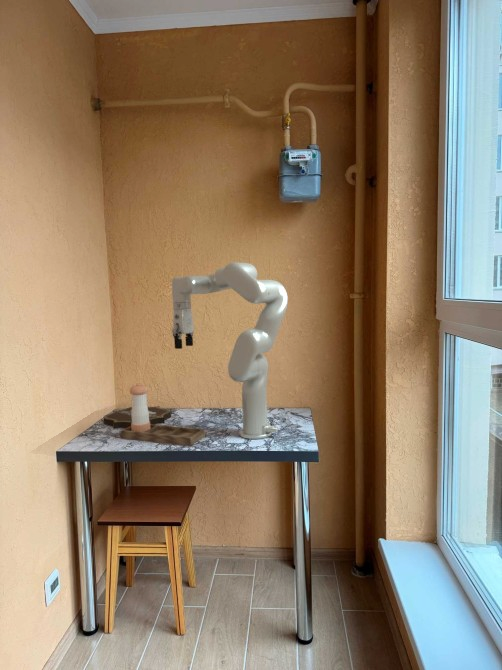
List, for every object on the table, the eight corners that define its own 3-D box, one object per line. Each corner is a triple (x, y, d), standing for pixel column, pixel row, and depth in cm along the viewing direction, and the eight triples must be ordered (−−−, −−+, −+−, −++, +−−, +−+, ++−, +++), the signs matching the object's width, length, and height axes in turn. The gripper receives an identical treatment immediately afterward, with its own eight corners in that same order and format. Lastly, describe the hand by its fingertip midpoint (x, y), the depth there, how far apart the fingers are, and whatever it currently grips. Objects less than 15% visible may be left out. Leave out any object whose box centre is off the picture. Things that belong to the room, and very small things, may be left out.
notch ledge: (205, 436, 178) (204, 429, 178) (190, 446, 168) (190, 438, 168) (137, 430, 190) (137, 422, 189) (120, 438, 180) (120, 430, 179)
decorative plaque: (185, 408, 212) (141, 426, 185) (185, 415, 212) (141, 434, 186) (135, 403, 226) (87, 419, 199) (135, 409, 226) (87, 425, 200)
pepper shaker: (135, 428, 187) (133, 381, 185) (153, 428, 186) (150, 381, 184) (128, 434, 179) (125, 385, 178) (146, 434, 178) (143, 385, 176)
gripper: (180, 307, 185) (182, 349, 187) (199, 305, 202) (201, 344, 203) (163, 307, 188) (166, 349, 189) (183, 306, 204) (185, 344, 206)
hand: (184, 347), depth 196 cm, fingers open, 9 cm apart
